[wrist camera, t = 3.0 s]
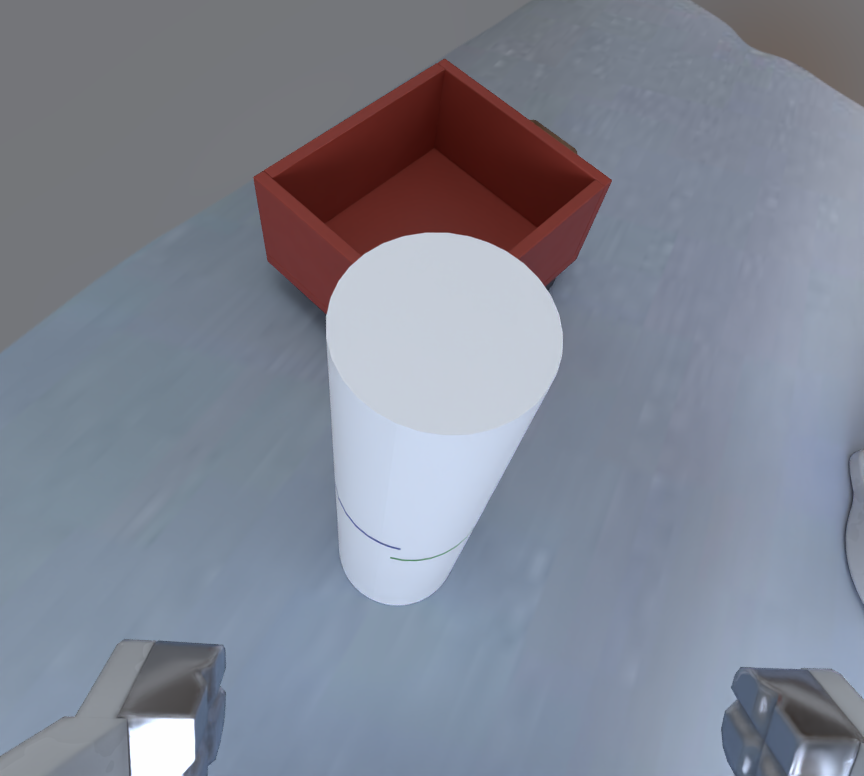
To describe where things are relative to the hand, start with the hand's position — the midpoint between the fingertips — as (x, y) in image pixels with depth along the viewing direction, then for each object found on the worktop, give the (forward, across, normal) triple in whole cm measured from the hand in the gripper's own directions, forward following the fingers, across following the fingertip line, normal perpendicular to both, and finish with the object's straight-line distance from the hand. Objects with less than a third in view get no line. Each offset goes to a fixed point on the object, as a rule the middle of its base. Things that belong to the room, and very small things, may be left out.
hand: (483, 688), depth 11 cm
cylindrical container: (+29, 0, +14) cm, 33 cm away
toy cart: (+44, -2, -1) cm, 44 cm away
